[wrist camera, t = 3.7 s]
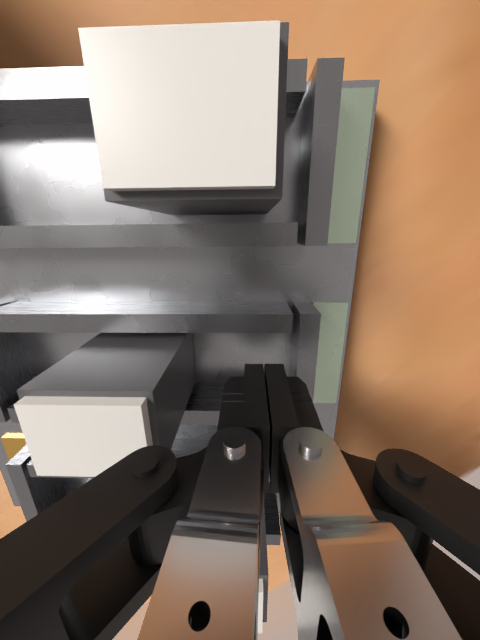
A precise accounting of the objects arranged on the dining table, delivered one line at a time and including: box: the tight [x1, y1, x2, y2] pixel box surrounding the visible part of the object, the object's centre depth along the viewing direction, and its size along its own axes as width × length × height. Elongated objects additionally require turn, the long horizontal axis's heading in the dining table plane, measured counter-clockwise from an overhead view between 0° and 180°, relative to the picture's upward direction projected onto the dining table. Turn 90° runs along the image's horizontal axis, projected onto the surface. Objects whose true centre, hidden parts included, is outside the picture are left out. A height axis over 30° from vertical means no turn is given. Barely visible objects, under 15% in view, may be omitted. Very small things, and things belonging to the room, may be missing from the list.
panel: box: [0, 58, 379, 545], centre depth 13 cm, size 22×20×4 cm
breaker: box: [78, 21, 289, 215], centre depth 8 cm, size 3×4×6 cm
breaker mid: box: [14, 333, 196, 477], centre depth 11 cm, size 3×4×6 cm
